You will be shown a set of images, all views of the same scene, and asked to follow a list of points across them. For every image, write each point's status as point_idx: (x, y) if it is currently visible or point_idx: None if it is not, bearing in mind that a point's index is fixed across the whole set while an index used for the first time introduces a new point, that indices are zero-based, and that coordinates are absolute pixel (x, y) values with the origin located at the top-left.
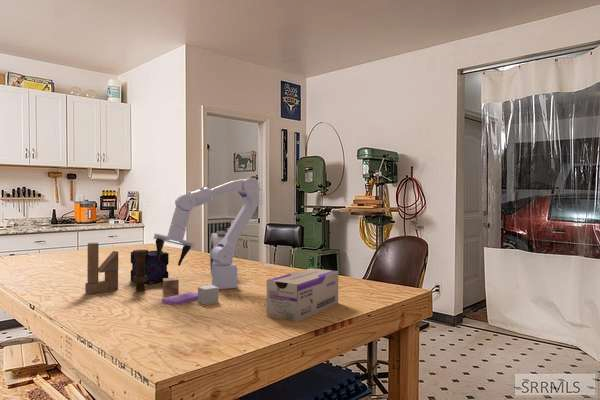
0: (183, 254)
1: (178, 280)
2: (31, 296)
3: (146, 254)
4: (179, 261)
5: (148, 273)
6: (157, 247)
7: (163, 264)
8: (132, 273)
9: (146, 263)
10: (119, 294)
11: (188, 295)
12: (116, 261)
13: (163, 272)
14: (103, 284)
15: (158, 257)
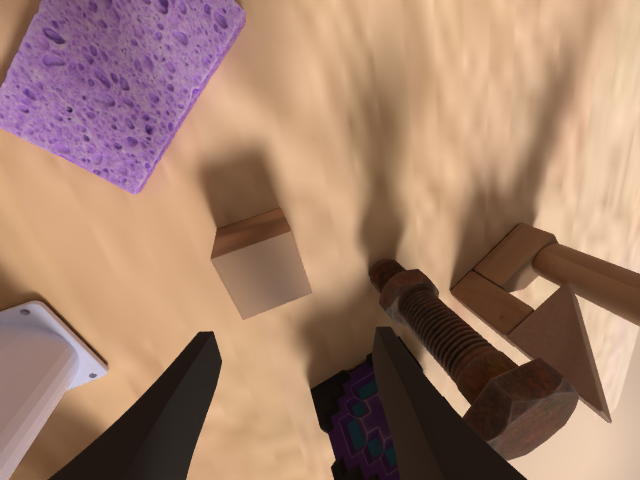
0: (115, 440)
1: (211, 257)
2: (635, 202)
3: (478, 398)
4: (190, 357)
5: None
6: (472, 439)
7: (350, 456)
8: None
9: None
10: (443, 218)
11: (103, 104)
12: (552, 359)
13: (338, 420)
14: (508, 265)
15: (389, 345)
